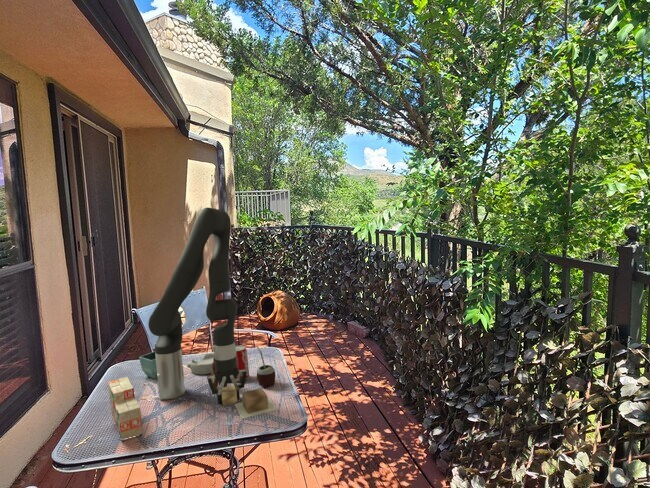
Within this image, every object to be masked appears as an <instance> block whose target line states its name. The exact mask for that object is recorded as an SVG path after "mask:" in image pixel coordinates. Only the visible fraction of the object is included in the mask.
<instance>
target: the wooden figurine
mask: <svg viewBox="0 0 650 488" xmlns="http://www.w3.org/2000/svg"><path fill="white" fill-rule="evenodd" d="M212 369H213V371H212V373H210V377H211V376H213V375H214V374H215V371H216V370H215V358H214V359H213V363H212ZM218 382H219V381H218V380H217V379H216V378H215V379H214V383H213V386H214V389H217V387H218ZM227 386H228V384H226V385H224V386H223V387H227Z"/></svg>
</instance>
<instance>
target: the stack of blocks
mask: <svg viewBox="0 0 650 488" xmlns="http://www.w3.org/2000/svg"><path fill="white" fill-rule="evenodd" d="M107 387H108V394H109V395H108V396H109V400H110V401H109V402H110V411H111V412H110V413H111V417H112V416H113V417H112V419H113V418H114V421H113V423H114V422H115V423H116V426H117V428H116V430H117V429H118V430H117V434H118V433H119V434H118V436H119V435H120V437H121V439H124V438H129V437H133V436H137V435H140V434H142V435H143V428H142V427H143V426H142V411H141V406H140V404H139V402H138V401H137V398H136V397H135V389H134V387H133V385H132V384H131V381H130V380H129V378H128V376H125V377H122V378H118V379H114V380H110V381H108V382H107ZM116 426H115V427H116ZM120 437H119V438H120Z"/></svg>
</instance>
